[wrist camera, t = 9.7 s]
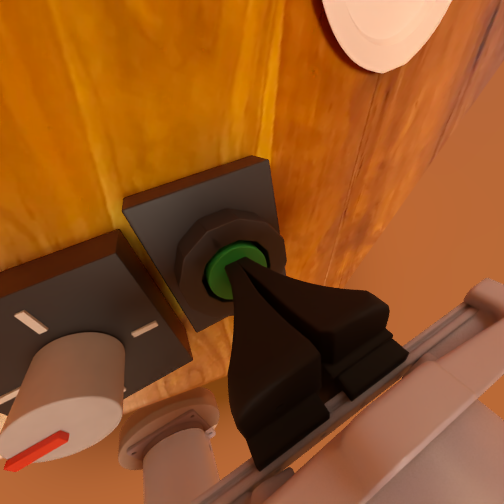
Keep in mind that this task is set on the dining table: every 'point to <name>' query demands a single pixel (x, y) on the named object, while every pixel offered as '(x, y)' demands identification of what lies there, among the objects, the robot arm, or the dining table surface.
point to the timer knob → (65, 400)
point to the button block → (207, 229)
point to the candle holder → (383, 29)
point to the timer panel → (88, 312)
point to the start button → (225, 256)
